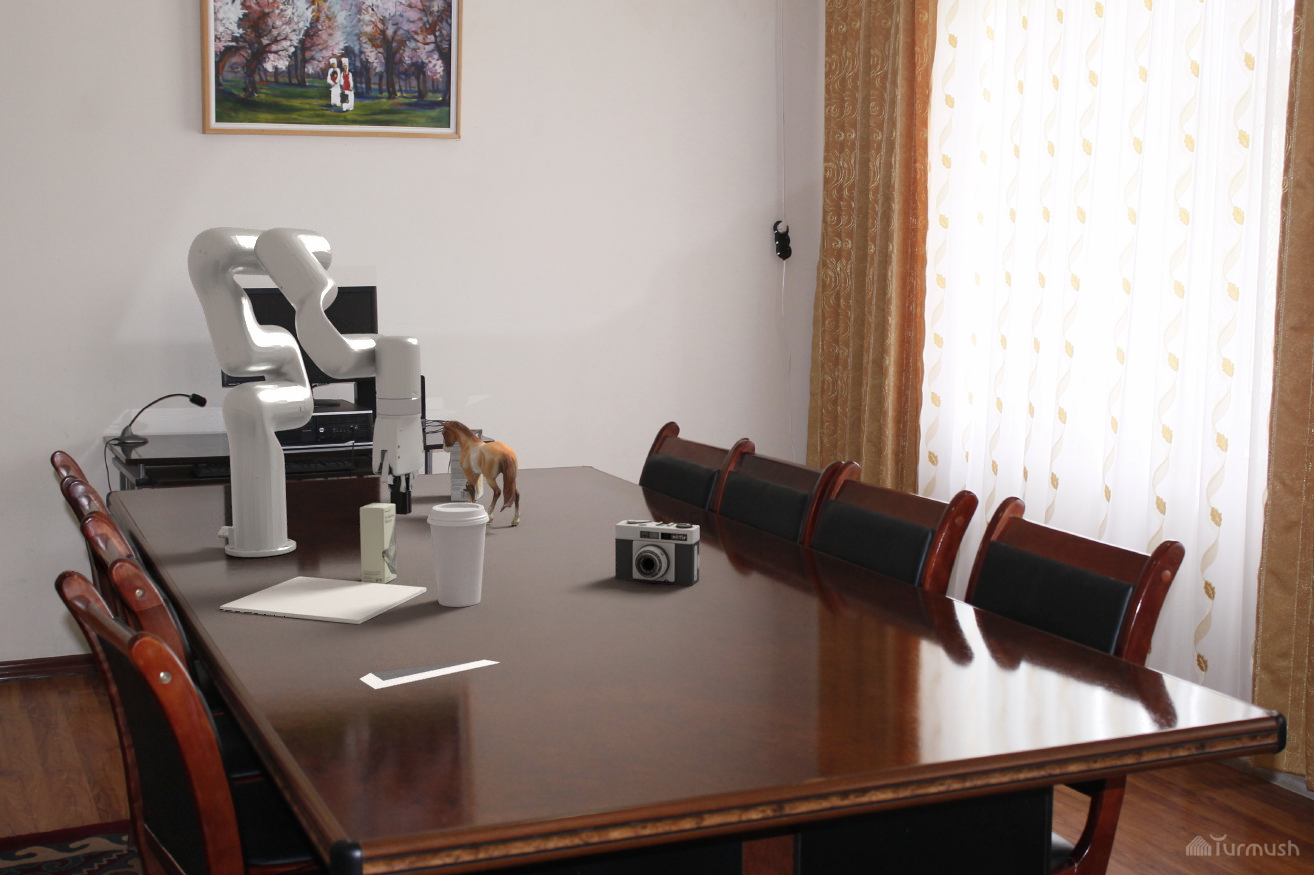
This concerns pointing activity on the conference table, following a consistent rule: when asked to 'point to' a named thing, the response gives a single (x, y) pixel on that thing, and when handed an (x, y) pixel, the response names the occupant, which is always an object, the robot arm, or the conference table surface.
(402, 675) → the white l-shaped strip
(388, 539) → the box
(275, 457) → the robot arm
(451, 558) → the coffee cup
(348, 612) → the mat
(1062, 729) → the conference table surface
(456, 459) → the coffee box
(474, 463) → the horse figurine
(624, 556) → the camera
